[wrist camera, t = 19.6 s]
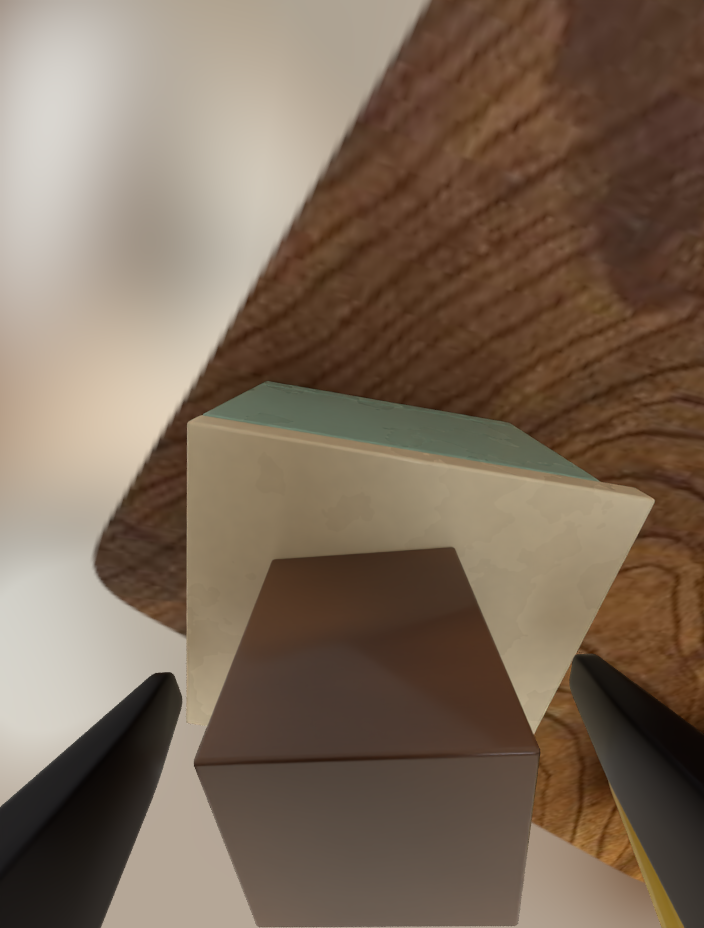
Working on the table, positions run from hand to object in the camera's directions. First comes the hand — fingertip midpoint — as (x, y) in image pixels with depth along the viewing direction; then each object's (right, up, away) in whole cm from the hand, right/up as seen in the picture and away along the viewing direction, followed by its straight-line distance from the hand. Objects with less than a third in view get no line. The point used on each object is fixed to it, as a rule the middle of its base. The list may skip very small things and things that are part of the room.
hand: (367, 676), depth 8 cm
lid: (0, +1, +2) cm, 2 cm away
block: (0, +1, +1) cm, 1 cm away
